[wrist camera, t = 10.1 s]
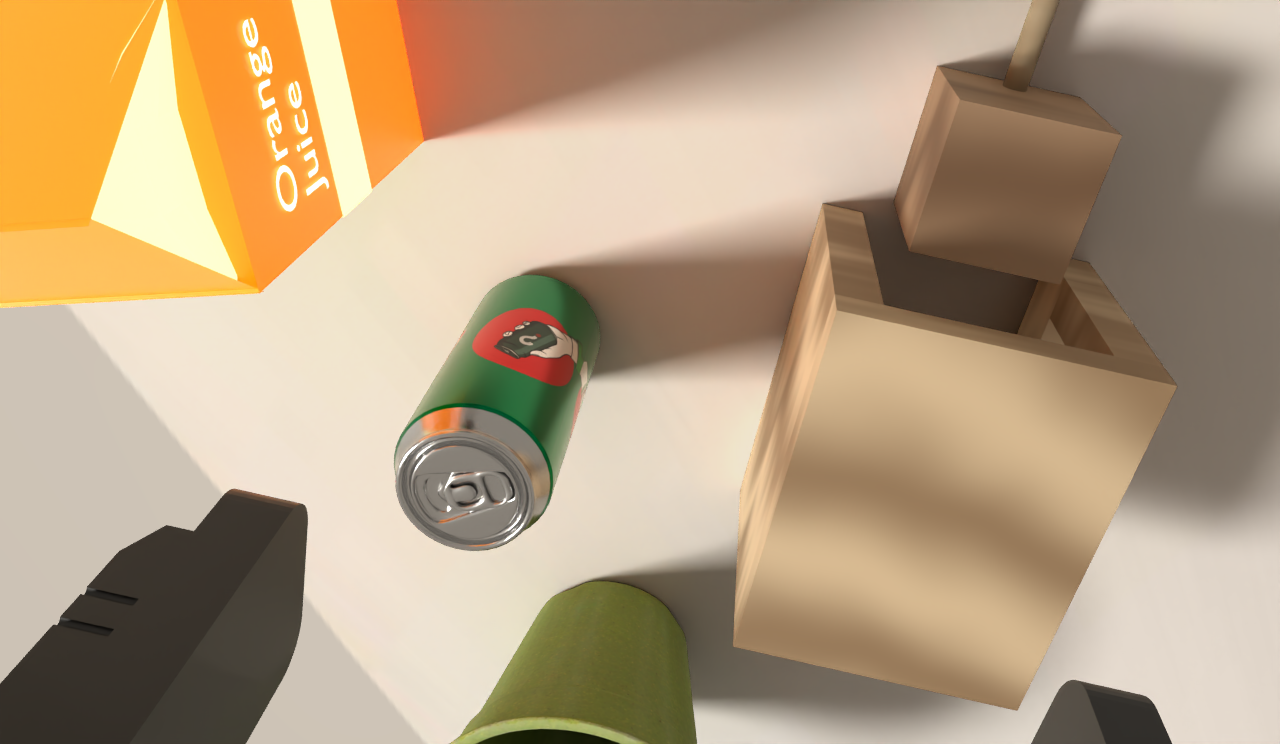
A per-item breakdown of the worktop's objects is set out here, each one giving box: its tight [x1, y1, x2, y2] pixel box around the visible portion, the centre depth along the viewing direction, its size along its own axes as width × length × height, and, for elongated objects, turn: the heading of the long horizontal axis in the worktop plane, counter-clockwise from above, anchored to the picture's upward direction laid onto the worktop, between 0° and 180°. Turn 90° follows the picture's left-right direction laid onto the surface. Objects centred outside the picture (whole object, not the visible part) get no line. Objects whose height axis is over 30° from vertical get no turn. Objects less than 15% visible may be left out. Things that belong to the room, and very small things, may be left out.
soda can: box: [394, 275, 600, 551], centre depth 38 cm, size 5×5×12 cm
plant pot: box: [450, 581, 697, 744], centre depth 45 cm, size 12×12×11 cm
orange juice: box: [0, 0, 424, 308], centre depth 30 cm, size 8×9×20 cm
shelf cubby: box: [733, 204, 1177, 710], centre depth 38 cm, size 13×10×10 cm
